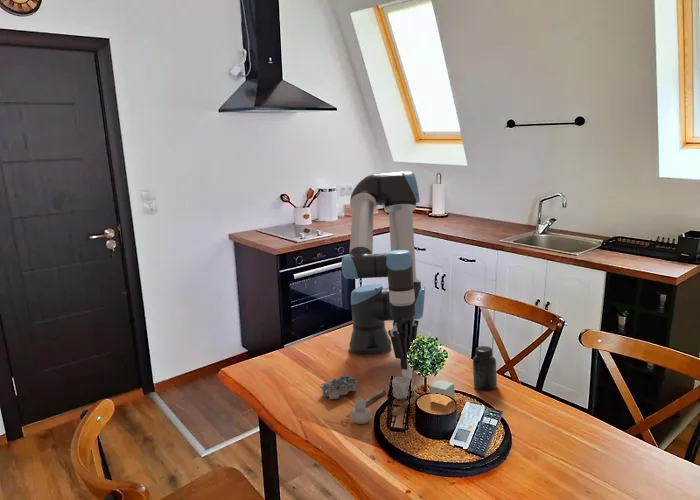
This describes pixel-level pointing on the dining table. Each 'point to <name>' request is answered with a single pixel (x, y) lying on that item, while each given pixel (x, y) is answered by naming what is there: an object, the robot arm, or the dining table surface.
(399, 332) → the robot arm
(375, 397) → the rails
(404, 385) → the die
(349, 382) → the egg carton
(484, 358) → the supplement bottle
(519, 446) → the dining table surface
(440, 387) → the sage block
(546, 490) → the dining table surface
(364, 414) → the grey rounded piece
